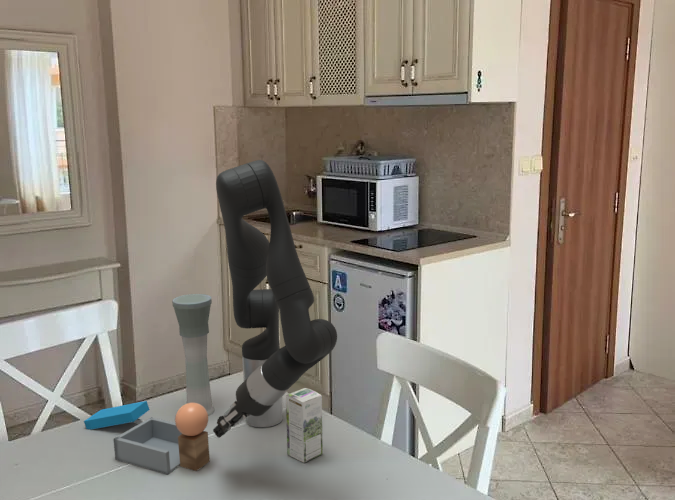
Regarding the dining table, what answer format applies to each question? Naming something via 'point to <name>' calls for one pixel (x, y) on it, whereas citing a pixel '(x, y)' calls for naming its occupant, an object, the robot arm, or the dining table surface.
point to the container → (195, 346)
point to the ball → (191, 419)
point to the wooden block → (194, 450)
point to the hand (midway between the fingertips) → (217, 433)
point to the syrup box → (304, 424)
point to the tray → (150, 445)
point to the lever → (117, 415)
